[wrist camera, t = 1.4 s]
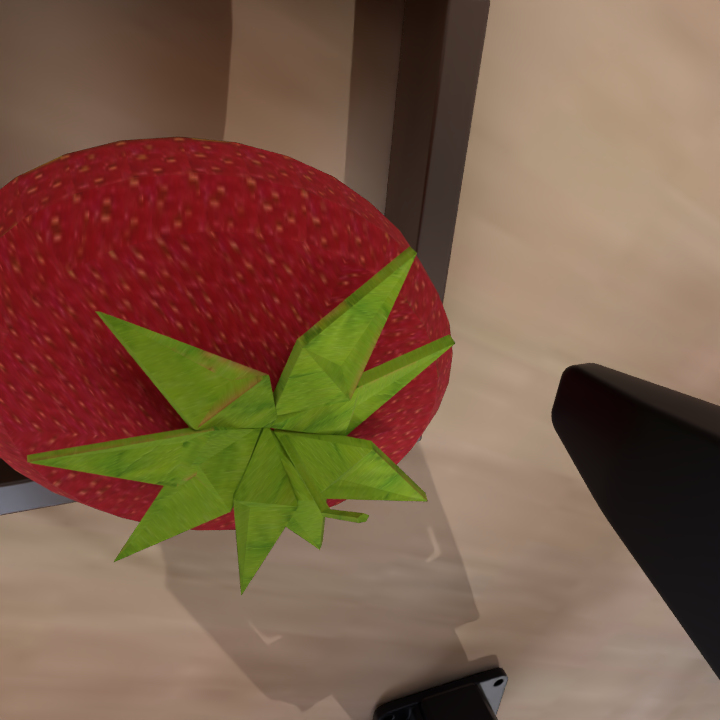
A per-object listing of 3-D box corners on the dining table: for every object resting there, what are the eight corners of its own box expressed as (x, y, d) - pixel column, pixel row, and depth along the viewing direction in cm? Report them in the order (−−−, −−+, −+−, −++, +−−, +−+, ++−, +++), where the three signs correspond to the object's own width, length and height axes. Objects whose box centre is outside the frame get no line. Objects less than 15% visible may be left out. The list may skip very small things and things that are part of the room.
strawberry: (13, 9, 11) (-165, 151, 3) (379, 151, 15) (721, 383, 7) (-35, 307, 13) (-210, 825, 5) (292, 365, 17) (475, 727, 9)
